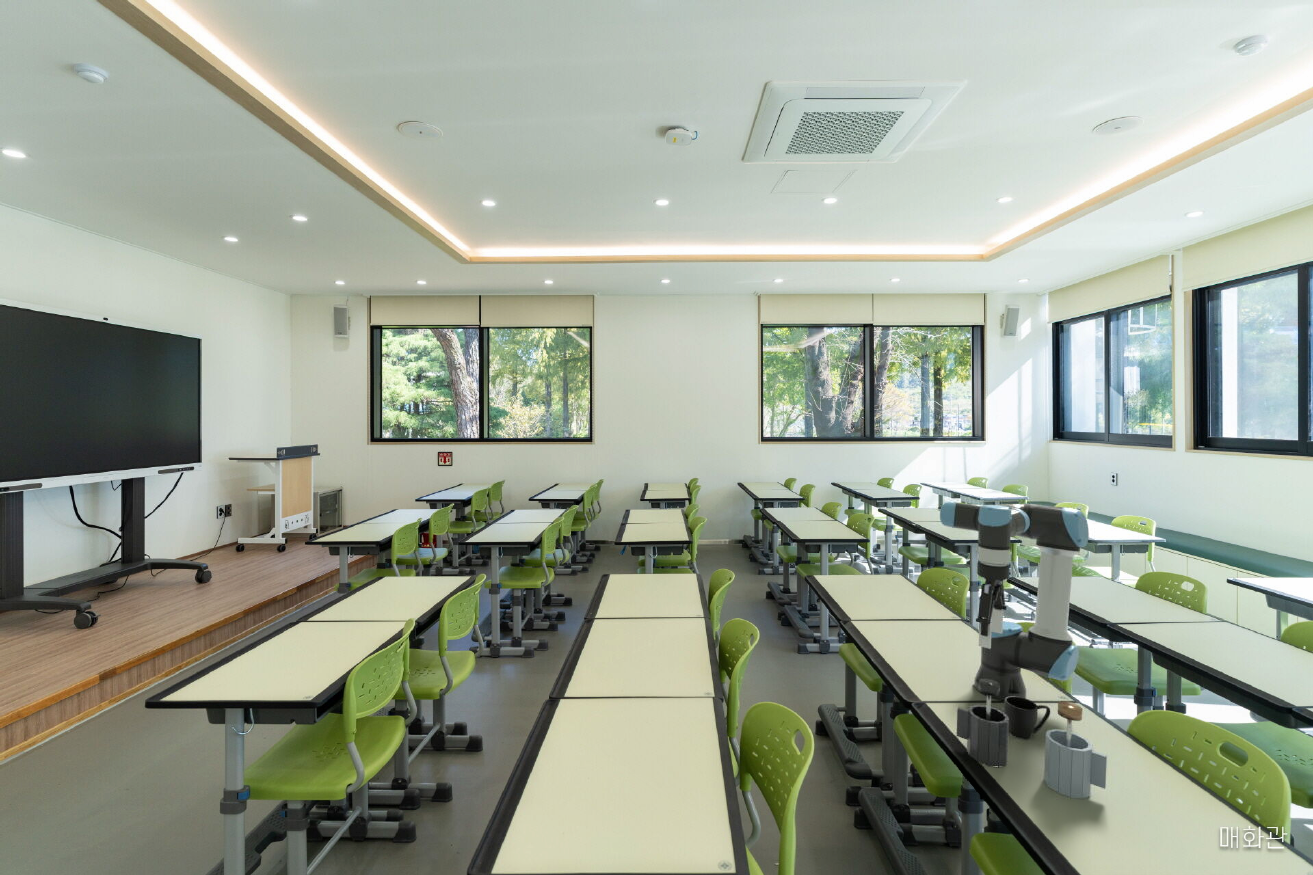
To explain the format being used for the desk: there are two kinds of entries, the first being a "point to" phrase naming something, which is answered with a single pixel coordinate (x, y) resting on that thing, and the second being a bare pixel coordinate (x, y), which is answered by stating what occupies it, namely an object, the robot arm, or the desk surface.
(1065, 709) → the stone press plunger
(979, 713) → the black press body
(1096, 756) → the cup
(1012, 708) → the mug
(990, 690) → the black press plunger
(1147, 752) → the desk surface
